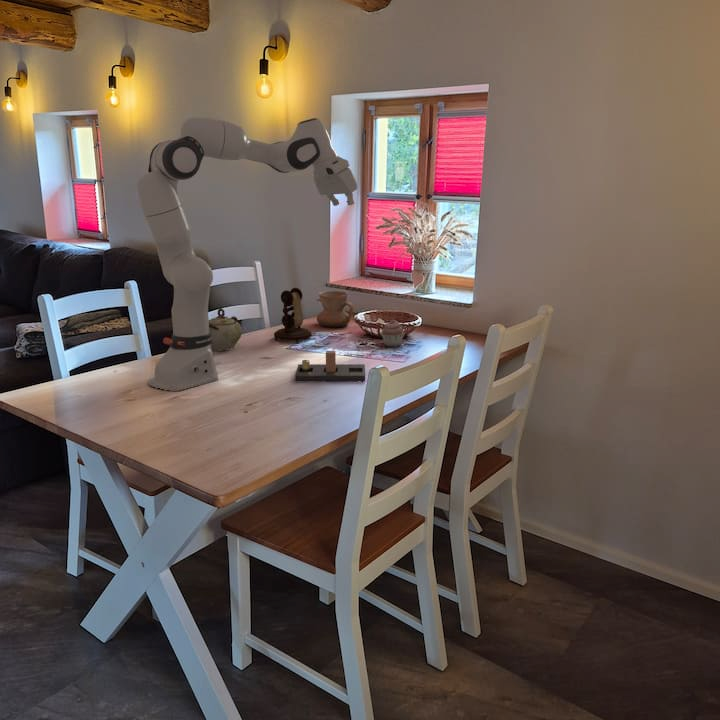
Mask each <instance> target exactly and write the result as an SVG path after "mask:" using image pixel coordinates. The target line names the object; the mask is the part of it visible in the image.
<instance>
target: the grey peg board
mask: <svg viewBox="0 0 720 720" xmlns="http://www.w3.org/2000/svg"><path fill="white" fill-rule="evenodd" d="M295 381H327V382H328V383H329V382H331V383H334V382H335V383H336V382H337V383H339V382H340V383H341V382H342V383H343V382H345V383H346V382H349V383H350V382H351V383H354V382H355V383H359V382H358V381H361V382H362V383H363V381H365V382H366V365H365V364H364V363H362V364H359V363H358V364H357V363H356V364H353V363H352V364H348V363H347V364H346V363H345V364H343V363H342V364H339V363H338V364H336V372H326V363H325V364H315V363H313V364H310V360H309V359H304V360H302V361H301V364H297V368H296V371H295V374H294V382H295ZM361 382H360V383H361Z"/></svg>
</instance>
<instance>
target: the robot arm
mask: <svg viewBox="0 0 720 720" xmlns="http://www.w3.org/2000/svg"><path fill="white" fill-rule="evenodd" d="M204 157H207V158H212V159H217V160H223V161H240V160H247V161H253V162H257V163H262V164H266V165H267V166H270V168H272V169H273V170H275V171H276V172H279V173H281V174H287V173H291V172H299V171H303V170H306V169H307V168H308V167H310V166H311V165H312V167H313V180H314V183H315V186H316V189H317V191H318V193H319V195H320V196H327V198H328V199H329V201H330V202H331V203H332V206H334V207H337V206H339V205H340V201H339V199H337V197H336V195H345V197H346V199H347V200H346V203H347V205H348V206H354V204H355V201H354V193H353V192H355V191H357V189H358V185H357V184H358V183H357V181H356V178H355V175H354V173H353V171H352V169H350V168H349V167H350V162H349V161H348V160H347V159H345V158H342V156H341V157H340V156H339V155H338V154H337V152H336V150H335V149H334V148H333V145H332V140H331V137H330V135H329V132H328V131H327V129H326V127H325V125H324V123H323V122H322V121H321V119H319V118H317V117H315V118H314V117H313V118H310V119H306V120H302V121H300V122H298V123H297V125H296V129H295V130H294V133H293V134H292V136H291V137H290V138H289V139H288V140H284V141H277V142H274V143H267V142H262V141H258V140H254V139H251V138H248V136H247V133H246V131H245V130H244V129H243V127H241V126H239V125H237V124H235V123H233V122H230V121H225V120H221V119H216V118H212V117H211V118H208V117H198V116H197V117H196V116H195V117H188V118H186V120H184V122H183V123H182V126H181V128H180V132H179V137H178V138H177V139H169V140H165V141H160V142H159V143H158V144H156V145H155V146H154V147H153V148H152V150H151V152H150V156H149V163H148V171H147V172H148V173H144V174H143V175H142V176H141V177H139V179H138V180H137V182H136V187H137V188H136V189H137V192H138V193H137V194H138V199H139V202H140V206H141V208H142V211H143V214H144V216H145V220H146V223H147V226H148V227H149V231H150V232H151V236H152V239H153V240H154V243H155V247H156V251H157V255H158V259H159V263H160V265H161V271H162V274H163V276H164V278H165V280H166V281H167V283H169V284H170V285H172V286H173V303H172V307H171V321H172V331H173V333H172V335H171V338H170V337H164V338H163V340H162V342H163V344H164V345H169V348H168V350H167V351H166V352H165V353H164V354H163V355H162V357H161V358H160V360H158V361H157V363H156V364H155V368H154V377H153V378H150V379H148V380H147V385H148V384H149V385H151V386H153V387H156V388H155V389H157V388H160V389H159V390H161V389H164V390H163V391H167V390H170V392H178V391H179V392H180V390H181V391H184V390H186V389H187V388H188V389H191V388H194V386H195V387H198V386H201V385H205V384H207V383H211V382H214V381H218V380H219V377H218V370H217V368H216V364H215V359H214V353H213V350H212V349H211V343H212V340H211V338H212V337H211V332H210V331H209V320H210V319H209V300H210V292H211V285H212V283H213V280H214V275H213V274H214V273H213V269H212V268H211V266H210V265H209V264H208V262H206V260H205V259H203V258H201V257H198V256H197V255H196V254H195V250H194V246H193V242H192V235H191V234H192V231H191V227H190V224H189V221H188V219H187V216H186V213H185V211H184V210H185V209H184V208H183V205H182V202H181V200H180V198H179V195H178V183H179V181H185V180H189V179H191V178H193V177H194V176H195V175H196V174H197V173H198V171H199V169H200V167H201V164H202V160H203V159H204ZM149 385H148V386H149ZM197 385H198V386H197ZM151 386H150V387H151ZM153 387H152V388H153ZM190 387H191V388H190ZM183 389H184V390H183ZM188 389H187V390H188Z"/></svg>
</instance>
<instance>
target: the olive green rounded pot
mask: <svg viewBox="0 0 720 720" xmlns="http://www.w3.org/2000/svg"><path fill="white" fill-rule="evenodd" d="M221 312H222V313H221ZM225 313H226V312H225V310H224V309H223V308H218V310H217V315H218V316H216V317H214V318H213V317H212V318H211V319H209V331H210V332H211V337H212V338H211V340H212V343H211V350H212V349H213V350H212V351H216V350H227V349H231V348H233V349H234V348H235V346H236V345H237V344H238V342H239V340H240V339H241V337H242V335H243V329H242V326H241V325H240V323H239V321H238V317H236V316H234V315H233V316H231V317H229V316H228V317H227V316H225ZM231 350H232V349H231ZM227 351H228V350H227Z"/></svg>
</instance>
